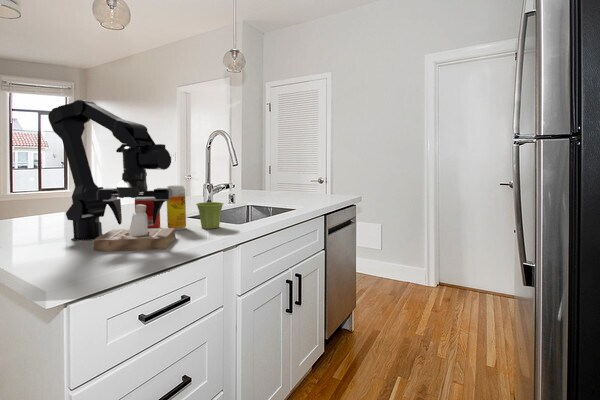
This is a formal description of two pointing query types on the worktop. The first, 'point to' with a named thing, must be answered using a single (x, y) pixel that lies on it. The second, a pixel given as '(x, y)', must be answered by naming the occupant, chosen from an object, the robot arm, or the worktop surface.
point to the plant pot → (210, 214)
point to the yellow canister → (176, 208)
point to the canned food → (148, 211)
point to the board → (134, 240)
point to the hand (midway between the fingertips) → (137, 224)
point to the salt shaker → (139, 222)
